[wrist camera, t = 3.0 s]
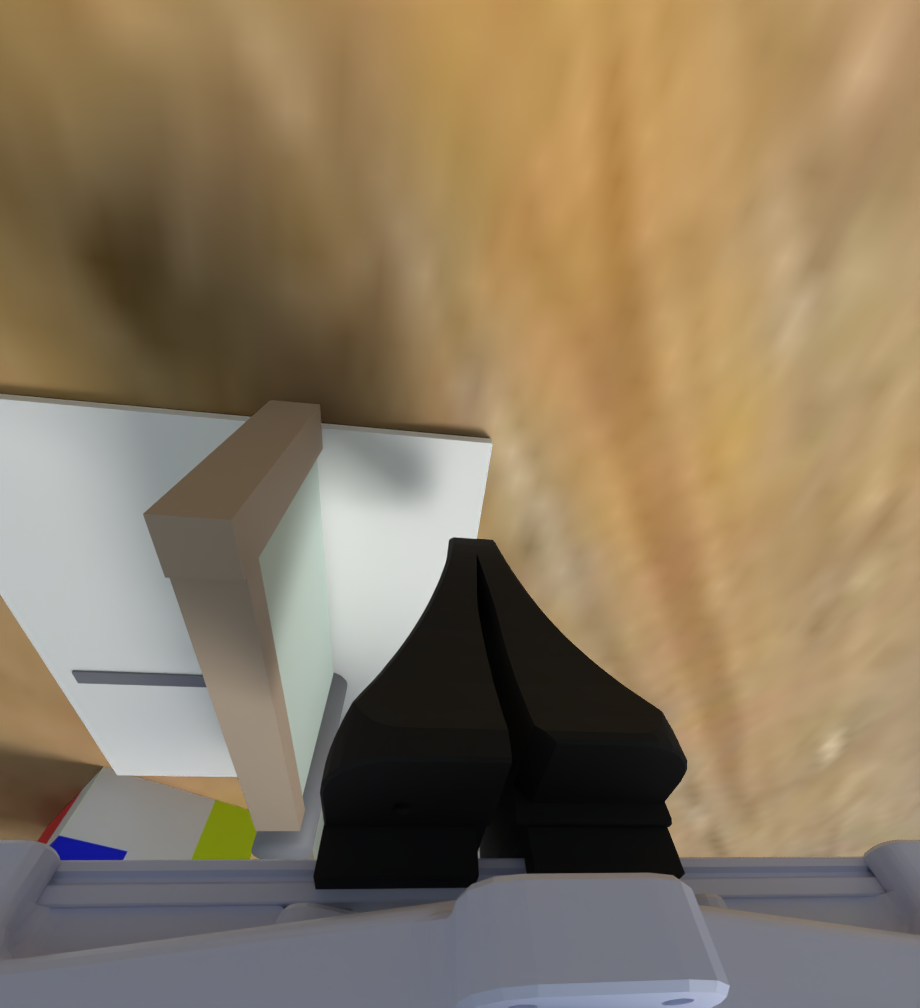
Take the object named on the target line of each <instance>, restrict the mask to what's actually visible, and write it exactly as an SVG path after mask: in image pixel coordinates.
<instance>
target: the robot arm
mask: <svg viewBox="0 0 920 1008" xmlns="http://www.w3.org/2000/svg"><path fill="white" fill-rule="evenodd" d="M686 770H687V759H686V757H685V755H684V753H683V751H682V749H681V747H680V745H679V742H678V740H677V738H676V736H675V734H674V732H673V730H672V728H671V726H670V725H669V723H668V721H667V720H666V718H665V716H664V714H663V712H662V711H660V710H659V709H658V708H656V707H655V706H653V705H652V704H650V703H649V702H647V701H646V700H644V699H643V698H641V697H640V696H638V695H637V694H635V693H634V692H632V691H631V690H629V689H628V688H626V687H625V686H624V685H622V684H621V683H620V682H618V681H617V680H616V679H614V678H613V677H612V676H611V675H609V674H608V673H607V672H605V671H604V670H603V669H601V668H600V667H599V666H598V665H597V664H595V663H594V662H593V661H592V660H591V659H589V658H588V657H587V656H586V655H585V654H584V653H583V652H582V651H581V650H579V649H578V648H577V647H576V646H575V645H574V644H573V643H572V642H571V641H570V640H568V639H567V638H566V637H565V636H564V635H563V634H562V633H561V632H560V631H559V629H558V628H557V627H556V626H555V625H554V624H553V623H552V622H551V621H550V620H549V619H548V618H547V616H546V615H545V614H544V613H543V612H542V611H541V609H540V608H539V607H538V606H537V604H536V603H535V602H534V601H533V599H532V598H531V597H530V595H529V594H528V593H527V591H526V590H525V589H524V587H523V586H522V584H521V583H520V582H519V580H518V579H517V577H516V576H515V574H514V573H513V571H512V570H511V568H510V567H509V565H508V564H507V562H506V560H505V559H504V557H503V555H502V554H501V552H500V550H499V549H498V547H497V545H496V543H495V542H494V541H493V540H486V539H472V538H457V537H453V538H451V539H450V540H449V543H448V551H447V559H446V563H445V566H444V569H443V571H442V574H441V577H440V579H439V582H438V584H437V586H436V588H435V590H434V592H433V595H432V597H431V599H430V601H429V603H428V605H427V606H426V608H425V610H424V612H423V614H422V615H421V617H420V619H419V620H418V622H417V624H416V625H415V627H414V628H413V630H412V631H411V633H410V634H409V636H408V637H407V639H406V640H405V641H404V643H403V644H402V646H401V647H400V648H399V650H398V651H397V652H396V653H395V655H394V656H393V657H392V658H391V660H390V661H389V662H388V663H387V665H386V666H385V667H384V668H383V669H382V671H381V672H380V673H379V674H378V675H377V676H376V678H375V679H374V680H373V681H372V682H371V683H370V684H369V685H368V686H367V687H366V688H365V689H364V690H363V691H362V692H361V693H360V694H359V695H358V697H357V698H356V699H355V700H354V701H353V702H352V704H351V706H350V708H349V709H348V711H347V713H346V715H345V717H344V719H343V721H342V723H341V725H340V727H339V729H338V731H337V733H336V735H335V737H334V740H333V742H332V745H331V747H330V750H329V753H328V756H327V759H326V763H325V767H324V772H323V777H322V782H321V788H320V798H321V805H322V812H323V820H324V826H323V831H322V836H321V841H320V846H319V851H318V856H317V859H243V860H60V857H59V855H58V854H57V852H56V851H55V850H54V849H53V848H52V847H50V846H49V845H47V844H44V843H41V842H37V841H29V840H0V1008H920V840H892V841H887V842H883V843H880V844H878V845H876V846H874V847H872V848H871V849H869V850H868V851H867V852H866V853H865V854H864V857H683V858H679V856H678V854H677V851H676V849H675V846H674V843H673V841H672V838H671V836H670V833H669V831H668V828H667V827H670V825H671V824H672V820H671V816H670V814H669V811H668V809H667V806H666V804H665V800H666V799H667V798H668V797H669V795H670V794H671V793H672V792H673V790H674V789H675V788H676V787H677V785H678V784H679V783H680V782H681V780H682V778H683V776H684V774H685V772H686Z"/></svg>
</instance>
